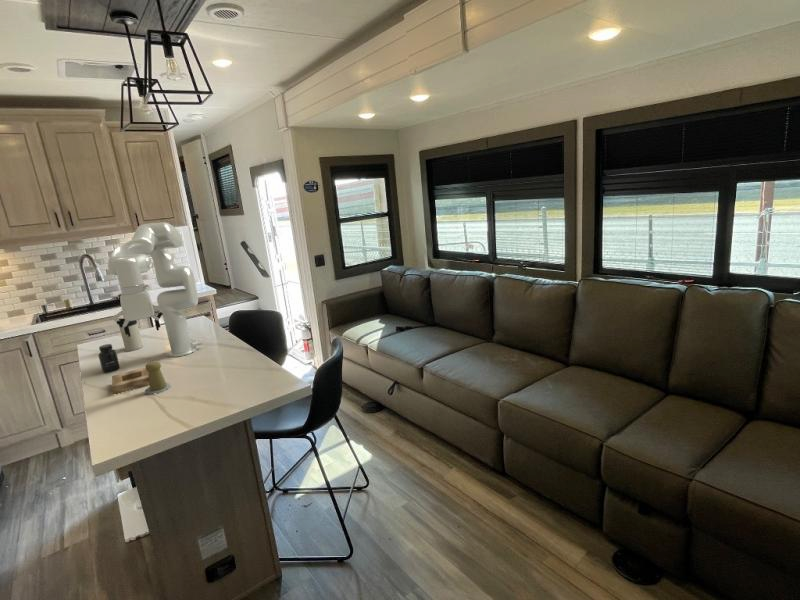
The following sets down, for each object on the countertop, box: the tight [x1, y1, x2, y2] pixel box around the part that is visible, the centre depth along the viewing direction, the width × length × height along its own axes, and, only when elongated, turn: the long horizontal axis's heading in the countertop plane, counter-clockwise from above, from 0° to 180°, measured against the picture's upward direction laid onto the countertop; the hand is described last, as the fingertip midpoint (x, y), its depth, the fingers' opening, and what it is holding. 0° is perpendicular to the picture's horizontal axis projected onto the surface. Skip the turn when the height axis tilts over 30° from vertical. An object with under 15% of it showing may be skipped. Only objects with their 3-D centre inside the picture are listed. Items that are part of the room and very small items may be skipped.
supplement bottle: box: [98, 343, 121, 374], centre depth 195 cm, size 7×7×12 cm
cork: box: [145, 360, 167, 391], centre depth 169 cm, size 6×6×11 cm
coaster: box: [144, 382, 171, 395], centre depth 171 cm, size 9×9×1 cm
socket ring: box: [111, 366, 150, 395], centre depth 178 cm, size 14×14×4 cm
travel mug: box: [118, 315, 144, 352], centre depth 222 cm, size 8×8×18 cm
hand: (143, 332), depth 165 cm, fingers open, 9 cm apart
